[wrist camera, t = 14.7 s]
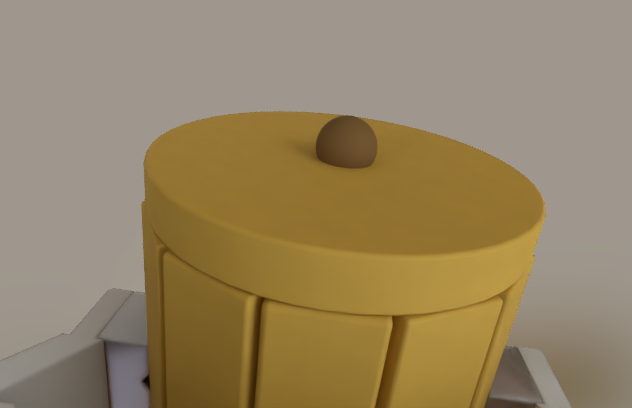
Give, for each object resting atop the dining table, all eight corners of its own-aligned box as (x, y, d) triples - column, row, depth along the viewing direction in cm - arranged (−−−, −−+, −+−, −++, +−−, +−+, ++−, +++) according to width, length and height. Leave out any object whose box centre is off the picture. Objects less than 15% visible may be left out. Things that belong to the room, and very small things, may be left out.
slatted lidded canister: (433, 736, 9) (666, 231, 5) (111, 681, 9) (38, 149, 5) (398, 381, 17) (468, 80, 13) (228, 356, 17) (241, 52, 13)
